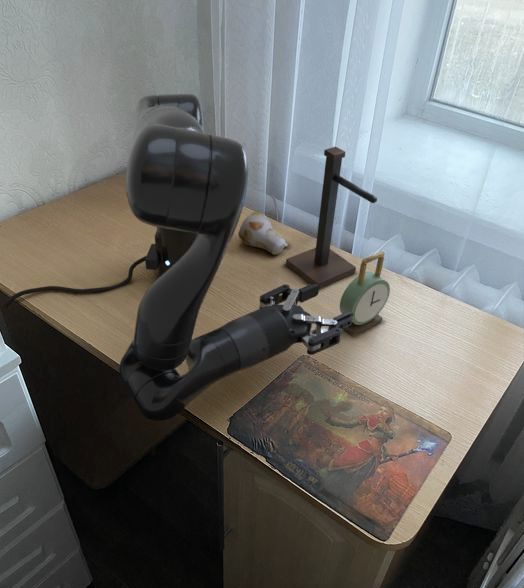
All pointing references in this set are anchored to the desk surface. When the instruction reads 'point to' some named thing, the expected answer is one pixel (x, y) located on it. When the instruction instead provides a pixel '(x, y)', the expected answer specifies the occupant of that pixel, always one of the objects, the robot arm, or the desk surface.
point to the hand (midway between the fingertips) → (333, 302)
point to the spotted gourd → (261, 233)
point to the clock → (365, 296)
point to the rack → (327, 229)
